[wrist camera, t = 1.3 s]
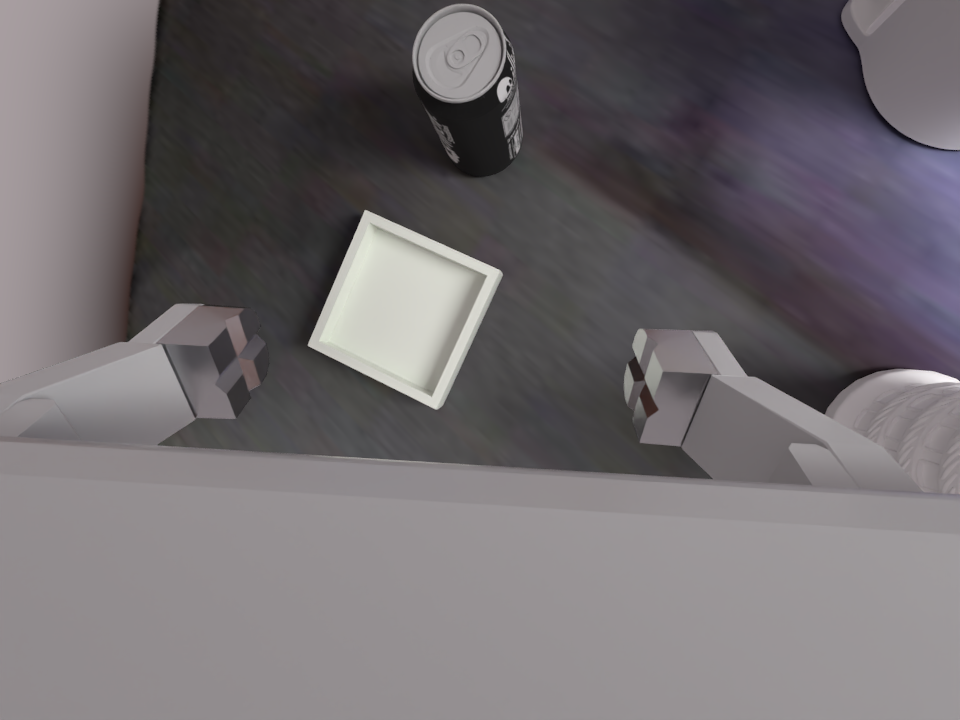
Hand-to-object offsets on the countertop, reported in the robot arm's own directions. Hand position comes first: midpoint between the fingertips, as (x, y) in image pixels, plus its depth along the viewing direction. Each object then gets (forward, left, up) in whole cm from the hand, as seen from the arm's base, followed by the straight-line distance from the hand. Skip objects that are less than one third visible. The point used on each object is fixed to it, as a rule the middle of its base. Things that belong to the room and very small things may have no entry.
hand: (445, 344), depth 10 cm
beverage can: (-14, -10, -30) cm, 35 cm away
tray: (+2, -10, -30) cm, 31 cm away
